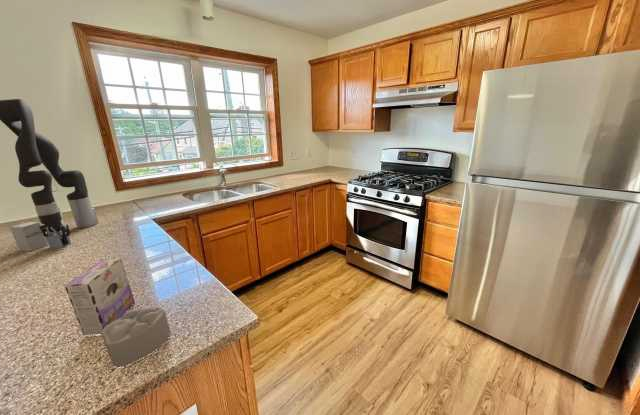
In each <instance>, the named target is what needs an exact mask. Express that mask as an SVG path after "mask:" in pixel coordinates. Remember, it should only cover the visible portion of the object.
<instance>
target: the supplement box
mask: <svg viewBox="0 0 640 415" xmlns="http://www.w3.org/2000/svg"><path fill="white" fill-rule="evenodd" d="M39 226H41V223H40V222H39V221H27V222H23V223H19V224H16V225H12V226H9V229H10V231H11V234H12V236H13V238H14V241H15V244H16V246H17V248H18V250H19V252H32V251H34V250H38V249H40V248H43V247H46V246H48V241H47V238H46V237H45V236H44V235H43V233H42V231H41V229H40V228H39Z"/></svg>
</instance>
